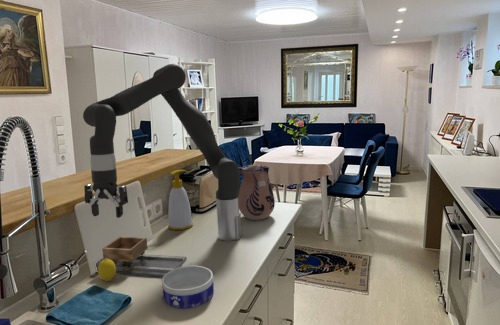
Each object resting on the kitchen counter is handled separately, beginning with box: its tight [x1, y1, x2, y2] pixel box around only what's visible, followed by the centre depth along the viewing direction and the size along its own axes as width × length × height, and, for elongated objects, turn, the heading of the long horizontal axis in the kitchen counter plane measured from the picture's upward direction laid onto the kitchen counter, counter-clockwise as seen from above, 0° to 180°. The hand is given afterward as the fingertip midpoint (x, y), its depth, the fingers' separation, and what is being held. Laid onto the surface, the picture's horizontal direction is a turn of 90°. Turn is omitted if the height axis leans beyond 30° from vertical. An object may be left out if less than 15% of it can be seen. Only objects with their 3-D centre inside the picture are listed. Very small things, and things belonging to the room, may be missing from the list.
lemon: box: [97, 259, 117, 282], centre depth 123 cm, size 6×6×8 cm
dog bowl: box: [161, 265, 215, 310], centre depth 112 cm, size 15×15×6 cm
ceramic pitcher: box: [238, 163, 275, 221], centre depth 178 cm, size 18×21×25 cm
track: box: [95, 253, 187, 278], centre depth 133 cm, size 28×14×3 cm, turn 78°
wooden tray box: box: [101, 236, 149, 266], centre depth 134 cm, size 11×11×6 cm
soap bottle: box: [167, 169, 194, 231], centre depth 170 cm, size 11×12×26 cm
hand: (107, 216), depth 122 cm, fingers open, 8 cm apart
